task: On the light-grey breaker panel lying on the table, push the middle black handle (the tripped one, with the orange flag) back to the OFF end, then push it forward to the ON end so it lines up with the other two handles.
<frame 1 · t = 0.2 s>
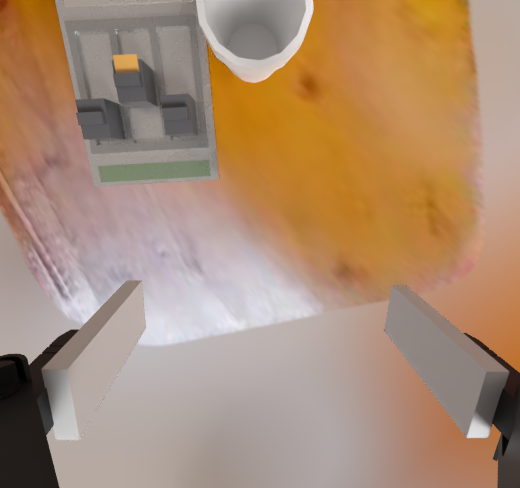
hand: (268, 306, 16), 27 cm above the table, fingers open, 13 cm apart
breaker c: (100, 120, 34), point 4 cm above the table, slide at 3.5 cm
breaker b: (134, 82, 33), point 4 cm above the table, slide at 0.0 cm
panel: (146, 91, 37), on the table
foam cup: (252, 54, 37), on the table
breaker a: (179, 116, 34), point 4 cm above the table, slide at 3.5 cm
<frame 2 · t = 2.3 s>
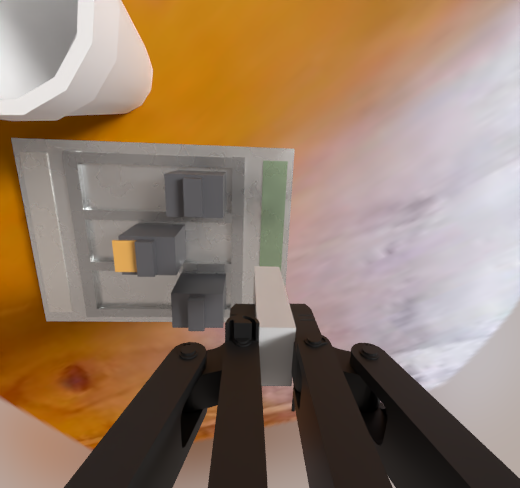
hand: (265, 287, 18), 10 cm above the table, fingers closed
breaker c: (200, 301, 25), point 4 cm above the table, slide at 3.5 cm
breaker b: (151, 249, 24), point 4 cm above the table, slide at 0.0 cm
panel: (166, 235, 28), on the table
foam cup: (112, 71, 24), on the table
breaker a: (197, 193, 23), point 4 cm above the table, slide at 3.5 cm
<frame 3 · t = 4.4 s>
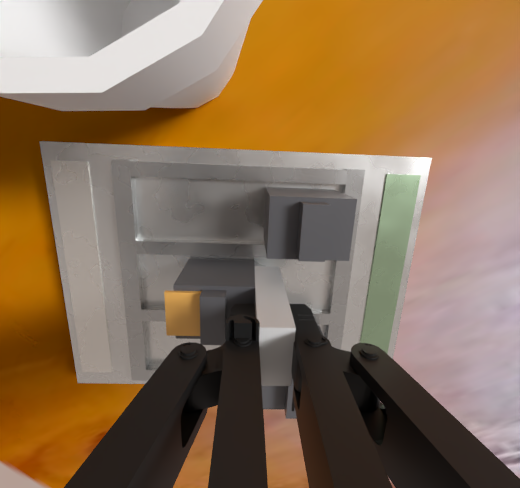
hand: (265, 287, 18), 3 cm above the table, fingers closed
breaker c: (292, 368, 18), point 4 cm above the table, slide at 3.5 cm
breaker b: (214, 298, 17), point 4 cm above the table, slide at -1.0 cm, touching gripper
panel: (238, 272, 21), on the table
foam cup: (181, 48, 17), on the table
breaker a: (305, 222, 16), point 4 cm above the table, slide at 3.5 cm
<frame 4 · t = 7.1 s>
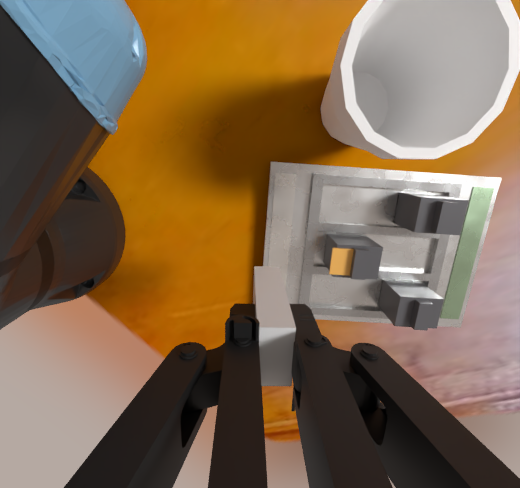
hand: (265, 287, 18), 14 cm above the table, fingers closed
breaker c: (410, 304, 29), point 4 cm above the table, slide at 3.5 cm
breaker b: (350, 256, 28), point 4 cm above the table, slide at -2.9 cm
panel: (367, 246, 32), on the table
foam cup: (353, 109, 28), on the table
breaker a: (430, 213, 27), point 4 cm above the table, slide at 3.5 cm
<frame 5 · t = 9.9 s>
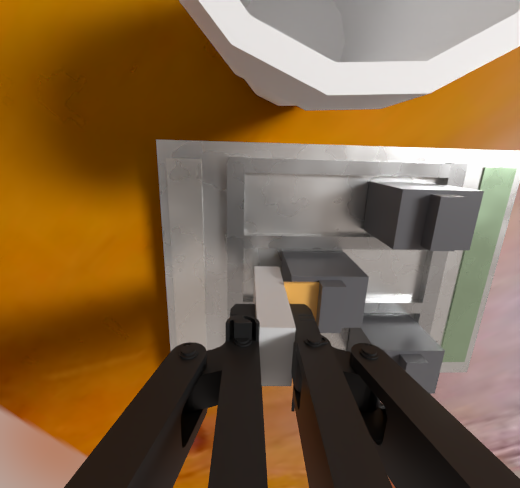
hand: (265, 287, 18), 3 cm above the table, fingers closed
breaker c: (393, 355, 19), point 4 cm above the table, slide at 3.5 cm
breaker b: (317, 289, 17), point 4 cm above the table, slide at -1.5 cm, touching gripper
panel: (328, 264, 21), on the table
foam cup: (289, 47, 17), on the table
breaker a: (419, 214, 16), point 4 cm above the table, slide at 3.5 cm
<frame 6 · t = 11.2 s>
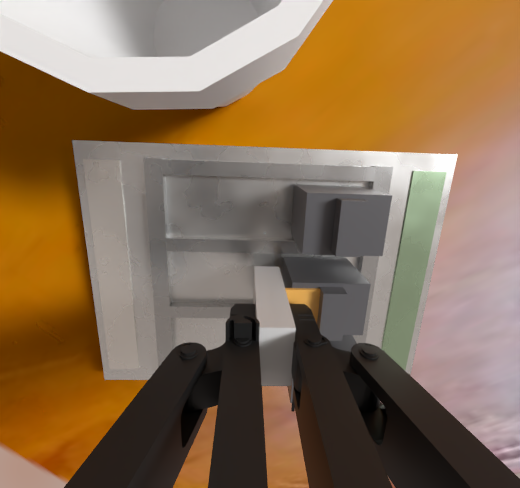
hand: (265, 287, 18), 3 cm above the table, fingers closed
breaker c: (320, 362, 18), point 4 cm above the table, slide at 3.5 cm
breaker b: (318, 295, 17), point 4 cm above the table, slide at 3.1 cm, touching gripper
panel: (263, 269, 21), on the table
foam cup: (210, 47, 17), on the table
breaker a: (336, 218, 16), point 4 cm above the table, slide at 3.5 cm
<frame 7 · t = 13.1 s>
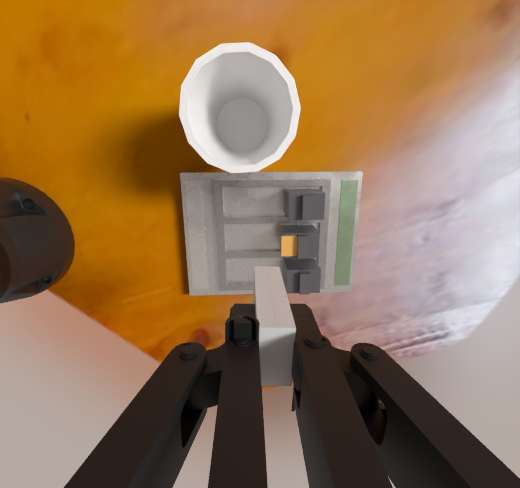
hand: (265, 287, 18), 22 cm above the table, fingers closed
breaker c: (301, 276, 37), point 4 cm above the table, slide at 3.5 cm
breaker b: (297, 241, 36), point 4 cm above the table, slide at 3.1 cm
panel: (271, 233, 40), on the table
foam cup: (242, 126, 36), on the table
breaker a: (304, 204, 35), point 4 cm above the table, slide at 3.5 cm
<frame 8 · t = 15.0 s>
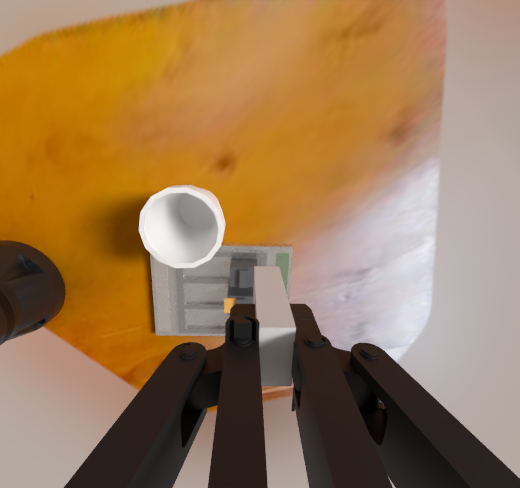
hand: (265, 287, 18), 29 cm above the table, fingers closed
breaker b: (239, 300, 46), point 4 cm above the table, slide at 3.1 cm
panel: (222, 288, 50), on the table
foam cup: (199, 208, 46), on the table
breaker a: (243, 273, 45), point 4 cm above the table, slide at 3.5 cm
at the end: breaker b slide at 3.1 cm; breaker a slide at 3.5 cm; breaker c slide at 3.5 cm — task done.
